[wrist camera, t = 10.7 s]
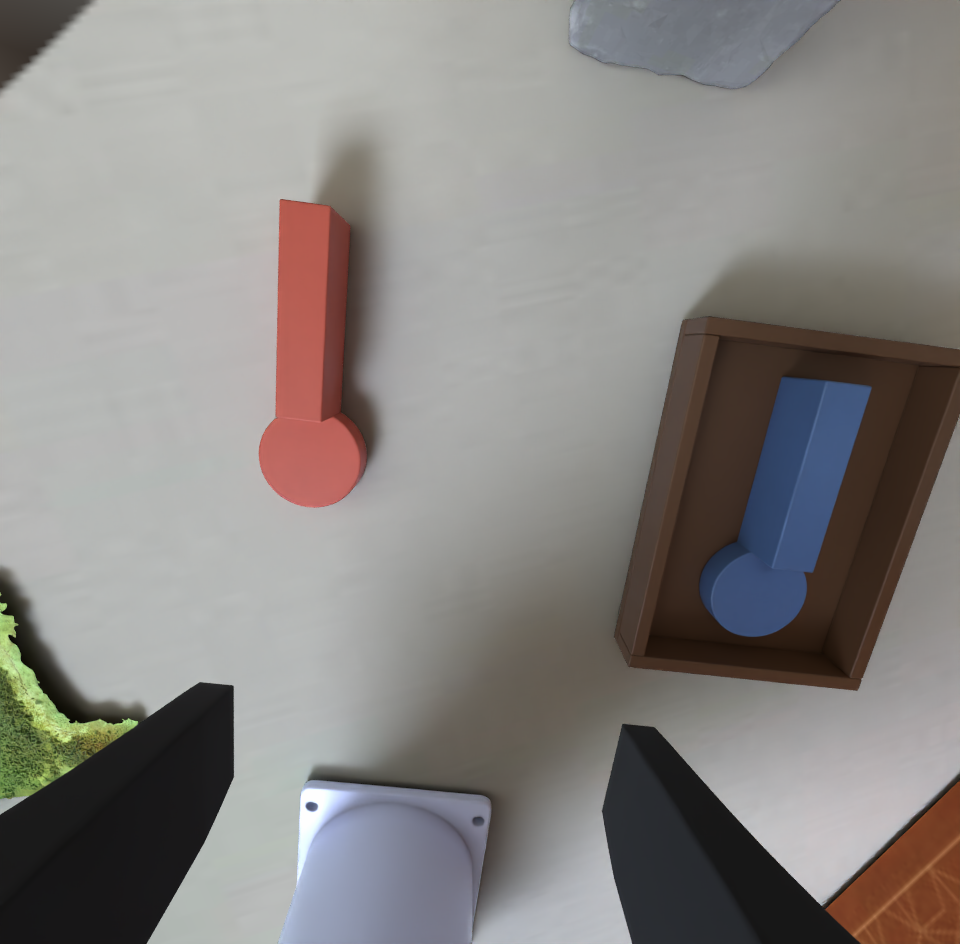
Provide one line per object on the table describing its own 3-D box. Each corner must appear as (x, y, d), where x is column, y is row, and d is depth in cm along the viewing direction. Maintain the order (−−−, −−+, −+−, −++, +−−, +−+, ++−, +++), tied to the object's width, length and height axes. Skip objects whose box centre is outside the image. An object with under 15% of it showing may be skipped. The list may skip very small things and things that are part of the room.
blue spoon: (776, 626, 19) (814, 662, 16) (689, 617, 18) (716, 652, 16) (850, 384, 16) (906, 390, 14) (752, 372, 16) (794, 376, 14)
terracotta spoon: (364, 504, 18) (348, 525, 16) (269, 493, 18) (241, 513, 15) (382, 229, 15) (367, 210, 13) (274, 214, 15) (241, 193, 13)
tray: (822, 658, 19) (858, 691, 18) (613, 636, 19) (628, 667, 17) (927, 351, 16) (984, 352, 15) (681, 319, 16) (708, 316, 14)
